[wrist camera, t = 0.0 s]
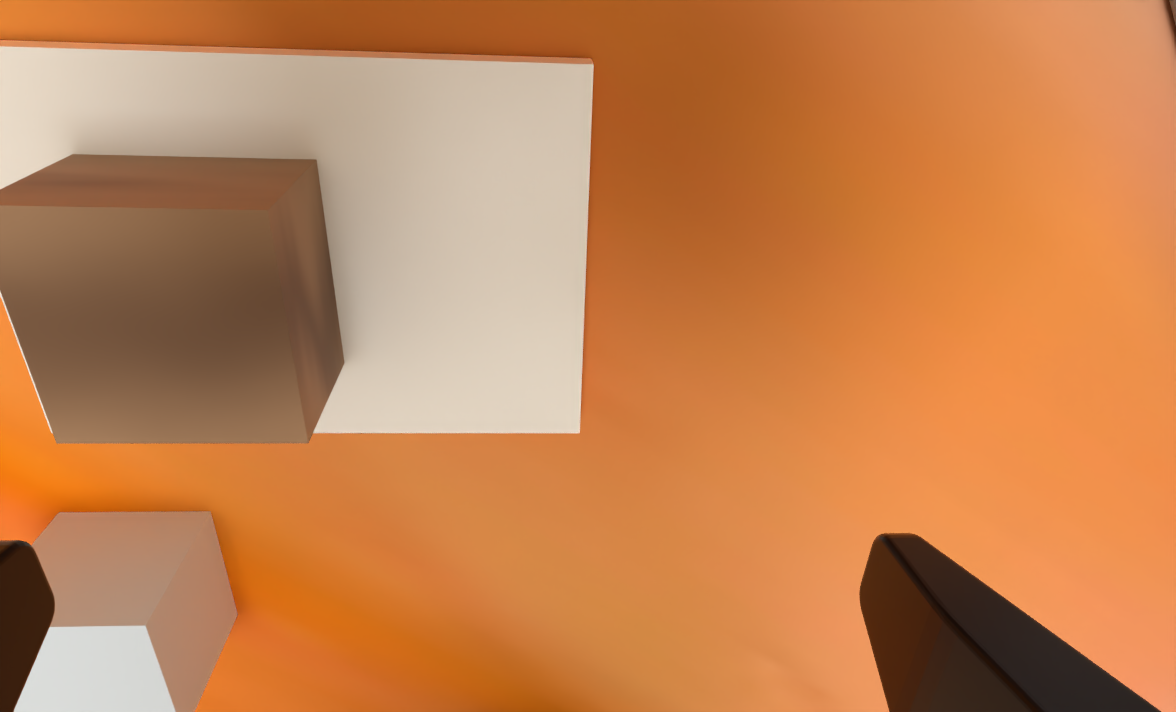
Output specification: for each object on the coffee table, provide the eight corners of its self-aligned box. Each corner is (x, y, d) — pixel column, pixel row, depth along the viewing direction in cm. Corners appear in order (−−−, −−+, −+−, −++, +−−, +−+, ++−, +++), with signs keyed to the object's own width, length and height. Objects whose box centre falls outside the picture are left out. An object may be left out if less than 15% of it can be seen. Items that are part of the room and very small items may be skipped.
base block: (344, 363, 23) (308, 443, 19) (133, 361, 22) (56, 443, 19) (316, 159, 20) (267, 210, 16) (72, 153, 19) (-32, 205, 16)
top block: (238, 612, 29) (183, 735, 24) (100, 614, 28) (20, 738, 24) (211, 509, 26) (145, 625, 22) (60, 510, 26) (-38, 627, 22)
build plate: (578, 415, 25) (579, 433, 24) (69, 414, 24) (51, 433, 23) (591, 58, 20) (593, 64, 19) (-64, 37, 19) (-94, 43, 18)
